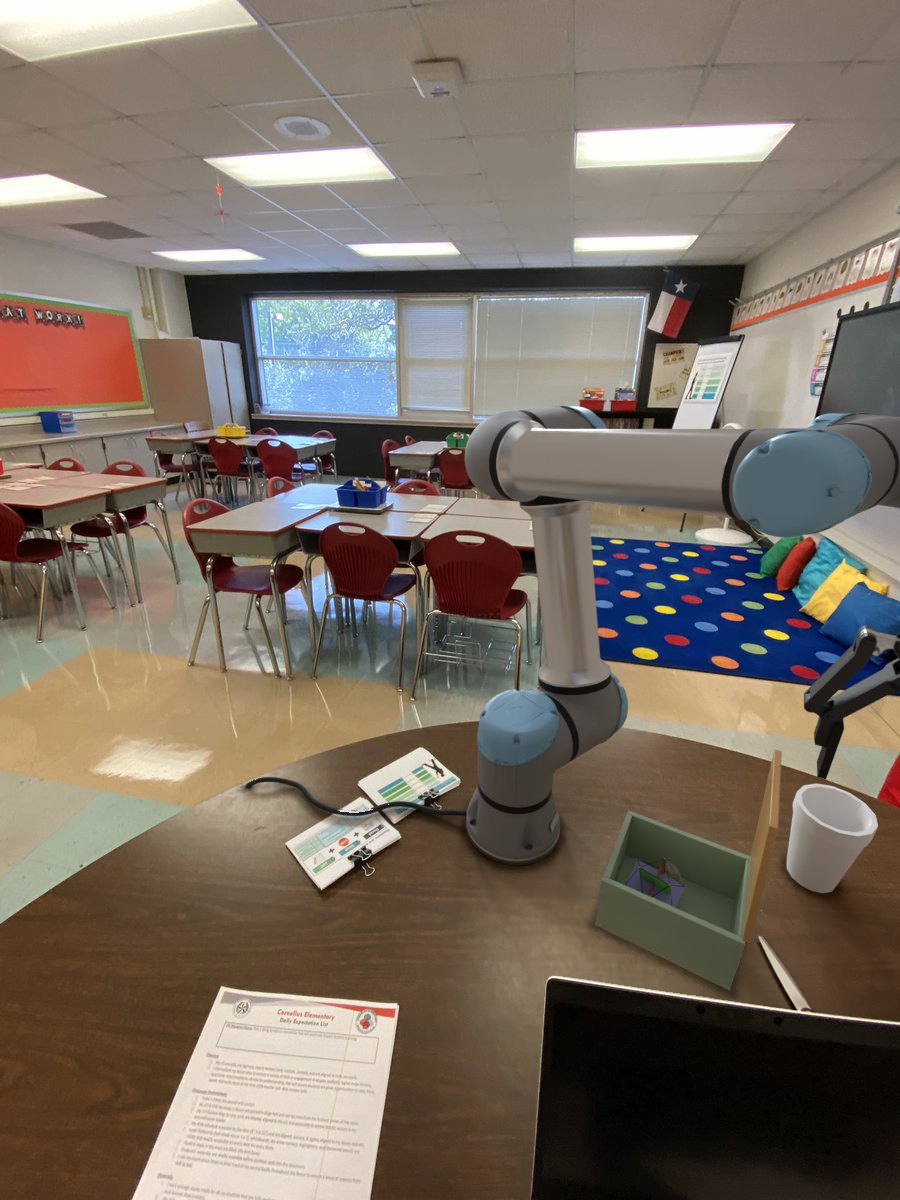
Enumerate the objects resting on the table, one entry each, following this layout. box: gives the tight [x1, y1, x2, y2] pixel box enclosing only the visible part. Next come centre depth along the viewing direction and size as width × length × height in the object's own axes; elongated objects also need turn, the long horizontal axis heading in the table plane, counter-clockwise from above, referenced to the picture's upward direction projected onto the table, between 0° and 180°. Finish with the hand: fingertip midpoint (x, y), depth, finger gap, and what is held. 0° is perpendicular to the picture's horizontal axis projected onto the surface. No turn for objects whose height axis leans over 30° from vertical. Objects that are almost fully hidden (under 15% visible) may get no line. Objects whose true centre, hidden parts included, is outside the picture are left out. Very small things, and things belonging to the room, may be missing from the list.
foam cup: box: [786, 782, 879, 894], centre depth 77 cm, size 10×9×13 cm
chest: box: [594, 809, 751, 992], centre depth 73 cm, size 17×14×9 cm
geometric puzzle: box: [624, 858, 686, 908], centre depth 74 cm, size 7×7×8 cm
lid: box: [743, 749, 783, 944], centre depth 64 cm, size 17×14×1 cm
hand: (893, 792), depth 54 cm, fingers open, 12 cm apart
